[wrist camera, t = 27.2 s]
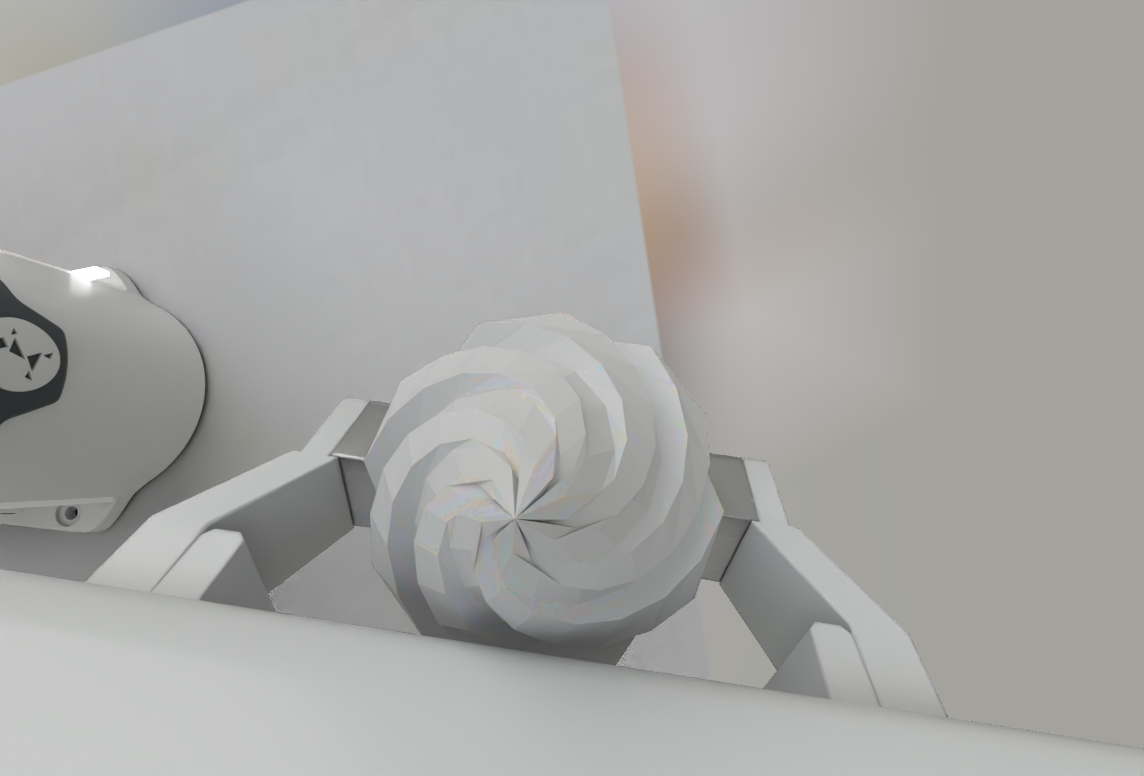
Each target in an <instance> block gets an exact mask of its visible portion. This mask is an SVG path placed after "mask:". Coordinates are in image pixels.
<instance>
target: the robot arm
mask: <svg viewBox="0 0 1144 776" xmlns="http://www.w3.org/2000/svg"><path fill="white" fill-rule="evenodd" d="M204 397H205V372H204V366H203V362H202V358H201V355H200V352H199V350H198V347H197V345H196V343H195V341H194V340H193V338H192V336H191V335H190V333H189V332H188V331H187V329H186V328H185V327H184V326H183V325H182V324H181V323H180V322H179V321H178V320H177V319H176V318H174V317H173V316H172V315H171V314H169V313H168V312H166V311H164V310H163V309H161V308H159V307H157V306H155V305H154V304H152V303H150V302H149V301H147V300H146V299H145V298H143V297H142V296H141V294H140V293H139V291H138V290H137V288H136V287H135V285H134V284H133V283H132V281H131V280H130V279H129V278H128V277H127V275H125V274H124V273H123V272H121V271H119V270H115V269H112V268H109V267H105V266H100V267H97V266H93V267H89V268H85V269H80V270H76V271H69V270H66V269H63V268H60V267H56V266H53V265H50V264H47V263H44V262H40V261H37V260H34V259H31V258H28V257H25V256H21V255H18V254H15V253H12V252H8V251H5V250H0V524H5V525H14V526H24V527H33V528H42V529H51V530H60V531H70V532H79V533H91V532H101V531H104V530H106V529H107V528H109V527H110V526H111V525H112V524H113V523H114V522H115V521H116V520H117V518H118V517H119V516H120V514H121V513H122V511H123V510H124V508H125V507H126V505H127V504H128V502H129V501H130V499H131V497H132V496H133V495H134V494H135V493H136V492H137V491H138V490H139V489H140V488H141V487H143V486H144V485H145V484H147V483H148V482H149V481H151V480H152V479H153V478H155V477H156V476H157V475H159V474H160V473H161V472H162V471H164V470H165V469H166V468H167V467H168V466H169V465H170V464H171V463H172V462H173V461H174V460H175V459H176V458H177V456H178V455H179V454H180V453H181V452H182V450H183V449H184V447H185V446H186V445H187V443H188V441H189V440H190V438H191V436H192V434H193V432H194V430H195V428H196V426H197V424H198V421H199V418H200V415H201V412H202V408H203V403H204ZM389 406H390V404H388V403H382V402H377V401H368V400H363V399H357V398H351V397H348V398H345V399H343V400H342V401H341V402H340V403H339V404H338V405H337V407H336V408H335V409H334V410H333V412H332V413H331V414H330V415H329V417H328V418H327V419H326V420H325V422H324V423H323V424H322V425H321V427H320V428H319V429H318V430H317V432H316V433H315V434H314V435H313V437H312V438H311V439H310V440H309V442H308V443H307V444H306V445H305V447H304V448H303V449H302V450H301V451H295V450H292V451H290V452H288V453H286V454H284V455H282V456H279V457H277V458H275V459H273V460H271V461H269V462H266V463H264V464H262V465H260V466H258V467H256V468H254V469H251V470H249V471H247V472H245V473H243V474H241V475H238V476H236V477H234V478H232V479H230V480H228V481H225V482H223V483H221V484H219V485H217V486H215V487H212V488H210V489H208V490H206V491H204V492H202V493H199V494H197V495H195V496H193V497H191V498H189V499H187V500H184V501H182V502H180V503H178V504H176V505H174V506H171V507H169V508H167V509H165V510H163V511H161V512H158V513H156V514H154V515H152V516H151V517H150V518H149V519H148V520H147V521H146V522H145V523H144V524H143V525H141V526H140V527H139V528H138V529H137V530H136V531H135V532H134V533H133V534H132V535H131V536H130V537H129V538H128V539H127V540H126V541H125V542H124V543H123V544H122V545H121V546H120V547H119V548H118V549H117V550H116V551H115V552H114V553H113V554H112V555H111V556H110V557H109V558H108V559H107V560H106V561H105V562H104V563H103V564H102V565H101V566H100V567H99V568H98V569H97V570H96V571H95V572H94V573H93V574H92V575H91V576H90V577H89V578H88V579H87V580H86V581H85V582H81V581H74V580H68V579H62V578H55V577H49V576H43V575H36V574H30V573H24V572H17V571H11V570H5V569H0V776H1144V748H1139V747H1132V746H1125V745H1119V744H1113V743H1107V742H1100V741H1093V740H1087V739H1081V738H1075V737H1068V736H1062V735H1055V734H1049V733H1042V732H1037V731H1030V730H1024V729H1017V728H1011V727H1005V726H998V725H992V724H985V723H979V722H973V721H967V720H959V719H954V718H948V715H947V714H946V712H945V709H944V707H943V705H942V703H941V701H940V698H939V696H938V694H937V692H936V690H935V688H934V686H933V683H932V681H931V679H930V677H929V675H928V673H927V670H926V668H925V666H924V664H923V662H922V660H921V658H920V655H919V653H918V651H917V649H916V647H915V645H914V643H913V640H912V638H911V636H910V634H908V633H907V632H906V631H905V630H904V629H903V628H902V627H901V626H900V625H899V624H898V623H897V622H896V621H895V620H894V619H893V618H892V617H891V616H889V614H888V613H887V612H885V611H884V610H883V609H882V608H881V607H880V606H879V605H878V604H877V603H876V602H875V601H874V600H873V599H872V598H871V597H870V596H868V594H866V592H864V591H863V590H862V589H861V588H860V587H859V586H858V585H857V584H856V583H855V582H854V581H853V580H852V579H851V578H850V577H849V576H848V575H847V574H846V573H844V571H842V570H841V569H840V568H839V567H838V566H837V565H836V564H835V563H834V562H833V561H832V560H831V559H830V558H829V557H828V556H827V555H826V554H825V553H824V552H822V550H820V549H819V548H818V547H817V546H816V545H815V544H814V543H813V542H812V541H811V540H810V539H809V538H808V537H807V536H806V535H805V534H804V533H803V532H801V531H800V530H799V529H798V528H796V527H790V525H789V523H788V519H787V516H786V514H785V510H784V507H783V505H782V502H781V499H780V496H779V493H778V490H777V487H776V484H775V481H774V478H773V475H772V472H771V469H770V466H769V464H768V463H767V462H766V461H765V460H758V459H750V458H742V457H739V458H738V457H732V456H726V455H719V454H712V453H709V457H710V465H709V470H708V476H709V478H710V480H711V483H712V485H713V487H714V489H715V492H716V494H717V496H718V499H719V501H720V503H721V505H722V508H723V510H724V513H723V516H722V519H721V522H720V525H719V528H718V530H717V533H716V536H715V539H714V542H713V545H712V548H711V551H710V554H709V557H708V560H707V563H706V566H705V568H704V571H703V574H702V577H701V579H706V580H711V581H717V582H720V586H721V587H722V589H723V590H724V592H725V593H726V595H727V596H728V598H729V599H730V601H731V602H732V604H733V605H734V607H735V608H736V610H737V611H738V613H739V614H740V616H741V617H742V619H743V620H744V622H745V623H746V625H747V626H748V628H749V629H750V631H751V632H752V634H753V635H754V637H755V638H756V640H757V641H758V643H759V644H760V646H761V647H762V649H763V650H764V652H765V653H766V655H767V656H768V658H769V659H770V661H771V662H772V664H773V665H774V667H775V668H776V670H777V671H776V673H775V674H774V675H773V676H772V678H771V679H770V680H769V682H768V683H767V684H766V685H765V687H764V688H756V687H750V686H743V685H737V684H731V683H724V682H718V681H712V680H705V679H699V678H693V677H686V676H680V675H673V674H667V673H661V672H654V671H648V670H641V669H635V668H629V667H622V666H616V665H610V664H603V663H597V662H590V661H584V660H578V659H571V658H565V657H559V656H552V655H546V654H539V653H533V652H527V651H520V650H514V649H507V648H501V647H495V646H488V645H482V644H475V643H469V642H463V641H456V640H450V639H443V638H437V637H431V636H424V635H418V634H411V633H405V632H399V631H392V630H386V629H380V628H373V627H367V626H360V625H354V624H348V623H341V622H335V621H329V620H322V619H316V618H310V617H303V616H297V615H290V614H284V613H278V612H276V609H275V607H274V605H273V603H272V601H271V598H270V596H269V594H268V593H269V592H270V591H272V590H273V589H274V588H276V587H277V586H278V585H280V584H281V583H282V582H283V581H285V580H286V579H287V578H289V577H290V576H291V575H293V574H294V573H295V572H297V571H298V570H299V569H300V568H302V567H303V566H304V565H306V564H307V563H308V562H310V561H311V560H312V559H314V558H315V557H316V556H318V555H319V554H320V553H321V552H323V551H324V550H325V549H327V548H328V547H329V546H331V545H332V544H333V543H335V542H336V541H337V540H339V539H340V538H341V537H342V536H344V535H345V534H346V533H348V532H349V531H350V530H352V529H353V528H354V526H353V525H355V526H363V527H371V521H370V513H371V509H372V506H373V502H374V499H375V495H376V490H375V487H374V485H373V483H372V480H371V478H370V475H369V473H368V470H367V468H366V466H365V463H364V461H365V458H366V456H367V454H368V452H369V450H370V448H371V445H372V443H373V441H374V439H375V437H376V435H377V432H378V430H379V428H380V426H381V424H382V422H383V419H384V417H385V415H386V413H387V411H388V409H389ZM76 509H77V510H78V514H77V516H76V514H75V512H76Z"/></svg>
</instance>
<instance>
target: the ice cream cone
mask: <svg viewBox="0 0 1144 776" xmlns="http://www.w3.org/2000/svg"><path fill="white" fill-rule="evenodd" d="M364 463H365V466H366V468H367V470H368V473H369V475H370V478H371V480H372V483H373V485H374V487H375V490H376V495H375V499H374V502H373V506H372V509H371V513H370V521H371V548H372V565H373V566H374V568H375V569H376V571H377V572H378V574H379V575H380V576H381V578H382V579H383V581H384V582H385V584H386V585H387V586H388V588H389V589H390V591H391V592H392V593H393V595H394V596H395V598H396V599H397V601H398V602H399V603H400V605H401V606H402V608H403V609H404V611H405V612H406V613H407V615H408V616H409V618H410V619H411V621H412V622H413V623H414V625H415V626H416V628H417V629H418V631H419V632H420V633H421V635H424V636H431V637H437V638H443V639H450V640H456V641H463V642H469V643H475V644H482V645H488V646H495V647H501V648H507V649H514V650H520V651H527V652H533V653H539V654H546V655H552V656H559V657H565V658H571V659H578V660H584V661H590V662H597V663H603V664H610V665H616V664H617V663H618V661H619V660H620V658H621V657H622V655H623V654H624V652H625V651H626V649H627V648H628V646H629V645H630V643H631V642H632V640H633V639H634V637H635V636H636V635H639V634H642V633H645V632H648V631H651V630H653V629H654V628H655V627H657V626H658V625H659V624H661V623H662V622H663V621H665V620H666V619H667V618H669V617H670V616H671V615H673V614H674V613H675V612H677V611H678V610H679V609H681V608H682V607H683V606H685V605H686V604H687V603H689V602H690V601H691V600H693V599H694V598H695V595H696V592H697V589H698V586H699V583H700V580H701V577H702V574H703V571H704V568H705V566H706V563H707V560H708V557H709V554H710V551H711V548H712V545H713V542H714V539H715V536H716V533H717V530H718V528H719V525H720V522H721V519H722V516H723V513H724V510H723V508H722V505H721V503H720V501H719V499H718V496H717V494H716V492H715V489H714V487H713V485H712V483H711V480H710V478H709V476H708V470H709V465H710V457H709V445H708V433H707V421H706V412H705V411H704V410H703V409H702V408H701V406H700V405H699V404H698V403H697V402H696V400H695V399H694V398H693V397H692V396H691V394H690V393H689V392H688V391H687V389H686V388H685V387H684V386H683V385H682V383H681V382H680V381H679V380H678V379H677V377H676V376H675V375H674V374H673V373H672V371H671V370H670V369H669V368H668V366H667V365H666V364H665V363H664V362H663V360H662V359H661V358H660V357H659V356H658V354H657V353H656V352H655V351H654V350H653V348H652V347H650V346H643V345H636V344H628V343H621V342H614V341H611V340H610V339H609V338H608V337H607V336H606V335H605V334H604V333H602V332H600V331H598V330H596V329H594V328H592V327H590V326H588V325H587V324H585V323H583V322H581V321H579V320H577V319H575V318H573V317H571V316H569V315H567V314H566V313H564V312H560V313H552V314H545V315H537V316H530V317H523V318H515V319H508V320H500V321H493V322H485V323H479V324H478V326H477V327H476V328H475V329H474V331H473V332H472V333H471V335H470V336H469V337H468V338H467V340H466V341H465V342H464V344H463V345H462V346H461V347H460V349H459V350H458V351H457V352H456V353H452V354H448V355H444V356H441V357H439V358H437V359H436V360H434V361H433V362H431V363H429V364H428V365H426V366H425V367H423V368H421V369H420V370H418V371H416V372H415V373H413V374H412V375H410V376H408V377H407V378H405V379H404V380H402V381H401V383H400V385H399V387H398V389H397V391H396V393H395V396H394V398H393V400H392V402H391V404H390V406H389V409H388V411H387V413H386V415H385V417H384V419H383V422H382V424H381V426H380V428H379V430H378V432H377V435H376V437H375V439H374V441H373V443H372V445H371V448H370V450H369V452H368V454H367V456H366V458H365V461H364Z"/></svg>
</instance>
